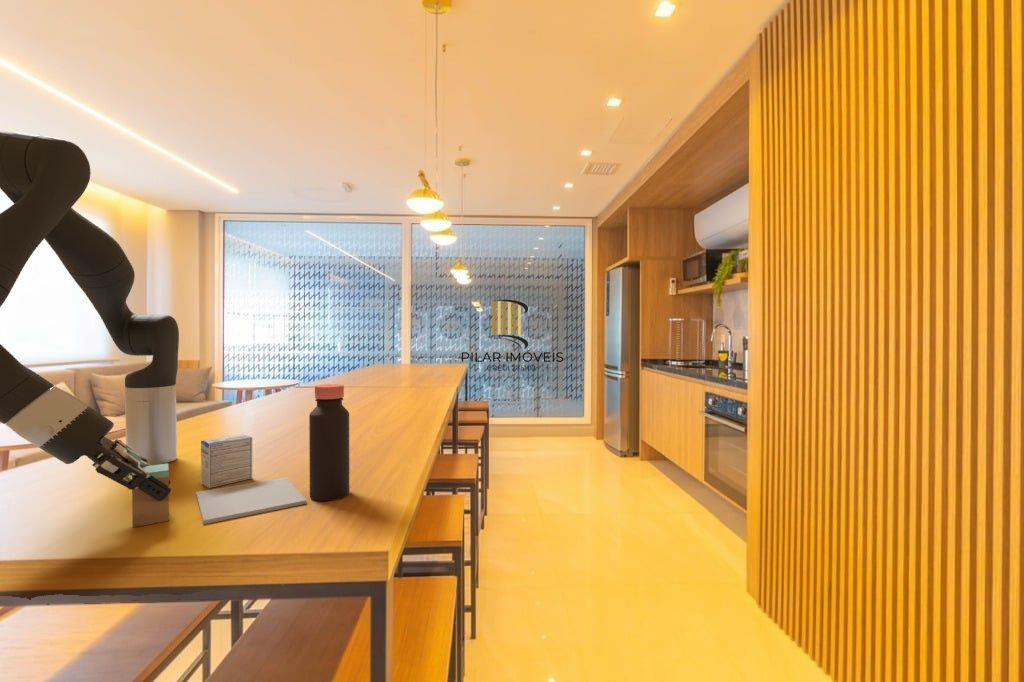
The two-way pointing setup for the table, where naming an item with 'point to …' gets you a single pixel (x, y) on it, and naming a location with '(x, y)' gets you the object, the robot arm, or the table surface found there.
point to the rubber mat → (247, 499)
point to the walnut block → (150, 500)
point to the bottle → (329, 444)
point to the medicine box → (226, 460)
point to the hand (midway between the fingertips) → (165, 490)
